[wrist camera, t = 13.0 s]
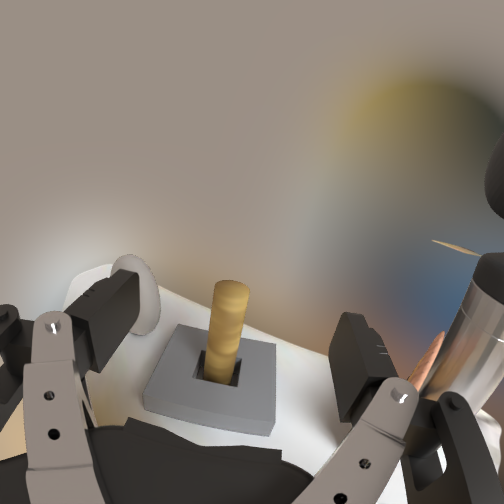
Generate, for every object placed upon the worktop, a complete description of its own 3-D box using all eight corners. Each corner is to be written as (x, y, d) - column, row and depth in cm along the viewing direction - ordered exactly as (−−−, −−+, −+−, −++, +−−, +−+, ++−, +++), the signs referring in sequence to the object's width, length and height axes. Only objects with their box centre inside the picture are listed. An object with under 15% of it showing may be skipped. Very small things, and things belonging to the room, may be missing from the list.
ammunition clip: (390, 404, 28) (438, 324, 24) (402, 411, 27) (452, 331, 22) (346, 458, 20) (410, 372, 16) (360, 468, 19) (430, 383, 15)
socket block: (271, 359, 34) (276, 343, 33) (269, 436, 23) (275, 422, 22) (177, 339, 34) (178, 323, 33) (144, 409, 23) (142, 393, 22)
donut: (165, 345, 32) (168, 272, 29) (142, 354, 30) (140, 279, 26) (128, 306, 38) (128, 241, 35) (107, 311, 36) (105, 244, 32)
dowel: (231, 377, 30) (251, 284, 26) (228, 396, 27) (248, 300, 23) (205, 372, 30) (218, 277, 26) (199, 390, 27) (211, 292, 23)
